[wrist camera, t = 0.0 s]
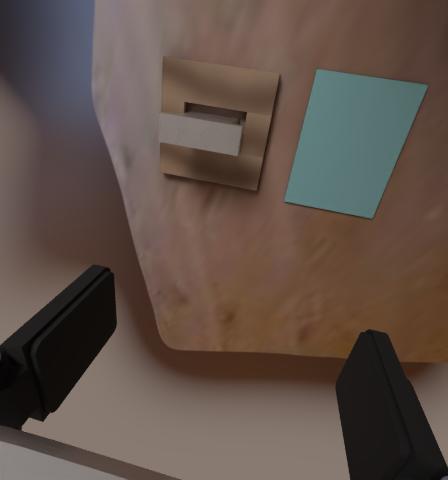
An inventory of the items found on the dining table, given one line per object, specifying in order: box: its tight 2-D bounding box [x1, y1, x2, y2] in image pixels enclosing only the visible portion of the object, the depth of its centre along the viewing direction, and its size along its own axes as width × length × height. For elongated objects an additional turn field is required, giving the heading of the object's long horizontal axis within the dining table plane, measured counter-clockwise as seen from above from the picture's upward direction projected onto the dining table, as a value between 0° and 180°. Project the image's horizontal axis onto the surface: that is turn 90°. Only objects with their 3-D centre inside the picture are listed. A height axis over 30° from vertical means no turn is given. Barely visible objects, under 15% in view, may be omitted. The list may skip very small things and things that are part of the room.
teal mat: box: [284, 69, 428, 219], centre depth 36 cm, size 16×12×1 cm
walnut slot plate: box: [160, 56, 280, 191], centre depth 37 cm, size 14×14×1 cm
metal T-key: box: [159, 111, 244, 156], centre depth 34 cm, size 3×9×8 cm, turn 82°
